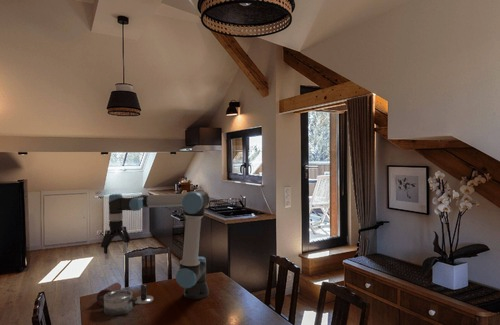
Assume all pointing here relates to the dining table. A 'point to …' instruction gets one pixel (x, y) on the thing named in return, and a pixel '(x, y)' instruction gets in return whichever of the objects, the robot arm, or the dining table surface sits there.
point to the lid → (144, 296)
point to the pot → (118, 302)
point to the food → (109, 289)
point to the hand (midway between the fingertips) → (116, 256)
